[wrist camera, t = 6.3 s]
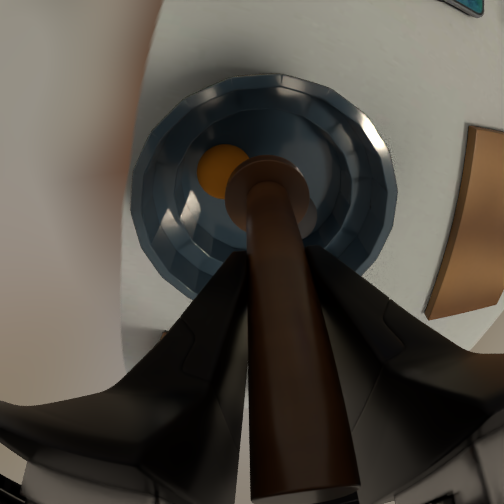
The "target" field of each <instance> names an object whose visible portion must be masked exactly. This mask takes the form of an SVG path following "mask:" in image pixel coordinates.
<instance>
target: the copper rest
mask: <svg viewBox="0 0 504 504" xmlns="http://www.w3.org/2000/svg"><path fill="white" fill-rule="evenodd" d="M503 290H504V132H501V131H496V130H491V129H486V128H481V127H475V126H469V130H468V139H467V148H466V155H465V162H464V169H463V175H462V181H461V186H460V192H459V197H458V202H457V206H456V211H455V215H454V220H453V224H452V228H451V232H450V236H449V239H448V243H447V247H446V250H445V254H444V257H443V261H442V264H441V267H440V270H439V274H438V277H437V280H436V283H435V286H434V289H433V292H432V294H431V297H430V300H429V303H428V305H427V308H426V311H425V316H426V317H427V319H428V320H433V319H438V318H443V317H447V316H452V315H456V314H460V313H465V312H469V311H473V310H477V309H481V308H485V307H489V306H492V305H496V304H497V303H498V300H499V298H500V296H501V294H502V292H503Z"/></svg>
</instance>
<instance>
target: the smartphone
mask: <svg viewBox="0 0 504 504" xmlns="http://www.w3.org/2000/svg"><path fill="white" fill-rule="evenodd" d="M443 1H445V2H447V3H449V4H451V5H453V6H455V7H457V8H459V9H460V10H462V11H464V12H466V13H467V14H469V15H471V16H473V17H476V18H480V17H482V16H483V14H484V0H443Z"/></svg>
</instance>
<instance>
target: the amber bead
mask: <svg viewBox="0 0 504 504" xmlns="http://www.w3.org/2000/svg"><path fill="white" fill-rule="evenodd" d="M247 159H249V157H248V155H247V154H246V153H245V152H244V151H243V150H242V149H240V148H238V147H236V146H234V145H230V144H221V145H217V146H214V147H212V148H210V149H208V150H207V151H206V152H205V153H204V154H203V155H202V157H201V158H200V160H199V163H198V166H197V178H198V181H199V184H200V185H201V187H202V188H203V190H204V191H205V192H206V193H208V194H209V195H211V196H213V197H215V198H219V199H225V190H226V185H227V181H228V179H229V177H230V175H231V173H232V172H233V171H234V169H235V168H236V167H237V166H238V165H239V164H241V163H242V162H244V161H245V160H247Z"/></svg>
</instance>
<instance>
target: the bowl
mask: <svg viewBox="0 0 504 504" xmlns="http://www.w3.org/2000/svg"><path fill="white" fill-rule="evenodd" d="M221 144H230V145H234V146H236V147H238V148H240V149H242V150H243V151H244V152H245V153H246V154H247V155H248V157H249V158H252V157H255V156H259V155H275V156H279V157H282V158H285V159H287V160H288V161H290V162H292V163H293V164H294V165H295V166H296V167H297V168H298V169H299V170H300V171H301V173H302V175H303V176H304V178H305V180H306V182H307V185H308V188H309V194H310V198H311V199H312V201H313V202H314V204H315V207H316V210H317V222H316V225H315V227H314V229H313V230H312V232H311V233H310V234H309V235H308V236H307V237H305V238H303V239H302V241H303V244H304V247H305V248H306V246H309V245H320V246H321V247H323V248H324V249H325V250H327V251H328V252H329V253H331V254H332V255H333V256H335V257H336V258H338V259H339V260H340V261H342V262H343V263H344V264H346V265H347V266H348V267H350V268H351V269H352V270H354V271H355V272H356V273H358V274H359V275H360V276H362V275H363V274H364V273H365V272H366V271H367V269H368V268H369V267H370V266H371V265H372V264H373V263H374V262H375V261H376V259H377V258H378V256H379V254H380V252H381V250H382V248H383V246H384V244H385V242H386V240H387V238H388V236H389V234H390V232H391V229H392V227H393V222H394V215H395V208H396V201H397V193H398V191H397V190H398V189H397V184H396V178H395V173H394V169H393V164H392V159H391V155H390V151H389V149H388V148H387V146H386V144H385V143H384V141H383V140H382V138H381V136H380V135H379V133H378V132H377V130H376V128H375V127H374V125H373V124H372V122H371V121H370V119H369V118H368V116H367V115H366V114H364V113H363V112H362V111H361V110H359V109H358V108H357V107H355V106H354V105H353V104H352V103H350V102H349V101H348V100H346V99H345V98H344V97H342V96H341V95H339V94H338V93H337V92H335V91H334V90H333V89H331V88H329V87H326V86H323V85H320V84H317V83H314V82H310V81H307V80H303V79H300V78H296V77H293V76H289V75H285V74H277V73H267V74H252V75H240V76H234V77H230V78H227V79H225V80H223V81H220V82H218V83H216V84H214V85H211V86H209V87H207V88H205V89H203V90H200V91H198V92H196V93H194V94H192V95H190V96H188V97H186V98H185V99H183V100H182V101H181V102H180V103H179V104H178V105H177V106H176V107H175V108H174V109H173V110H172V111H170V112H169V113H168V114H167V115H166V116H165V117H164V119H163V120H162V121H161V122H160V123H159V124H158V125H157V126H156V127H155V128H154V129H153V130H152V131H151V133H150V134H149V136H148V138H147V141H146V143H145V145H144V147H143V149H142V152H141V154H140V156H139V158H138V161H137V163H136V165H135V168H134V170H133V175H132V190H131V209H130V210H131V215H132V219H133V222H134V226H135V229H136V232H137V236H138V239H139V242H140V246H141V248H142V250H143V251H144V253H145V254H146V256H147V257H148V258H149V260H150V261H151V263H152V264H153V266H154V267H155V268H156V270H157V271H158V273H159V274H160V275H161V276H162V278H164V279H165V280H166V281H167V282H169V283H170V284H171V285H172V286H174V287H175V288H176V289H178V290H179V291H180V292H181V293H183V294H184V295H185V296H187V297H188V298H190V299H192V300H194V299H195V298H196V296H197V295H198V294H199V293H200V291H201V290H202V289H203V288H204V286H205V285H206V284H207V283H208V281H209V280H210V279H211V278H212V276H213V275H214V274H215V273H216V271H217V270H218V269H219V268H220V267H221V265H222V264H223V263H224V262H225V260H226V259H227V258H228V257H229V255H230V254H231V253H232V252H234V251H246V253H247V244H246V232H245V231H243V230H242V229H240V228H239V227H238V226H236V225H235V224H234V222H233V221H232V220H231V218H230V217H229V215H228V213H227V210H226V207H225V199H219V198H215V197H213V196H211V195H209V194H208V193H206V192H205V191H204V190H203V188H202V187H201V185H200V184H199V181H198V178H197V166H198V163H199V160H200V158H201V157H202V155H203V154H204V153H205V152H206V151H207V150H208V149H210V148H212V147H214V146H217V145H221Z"/></svg>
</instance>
